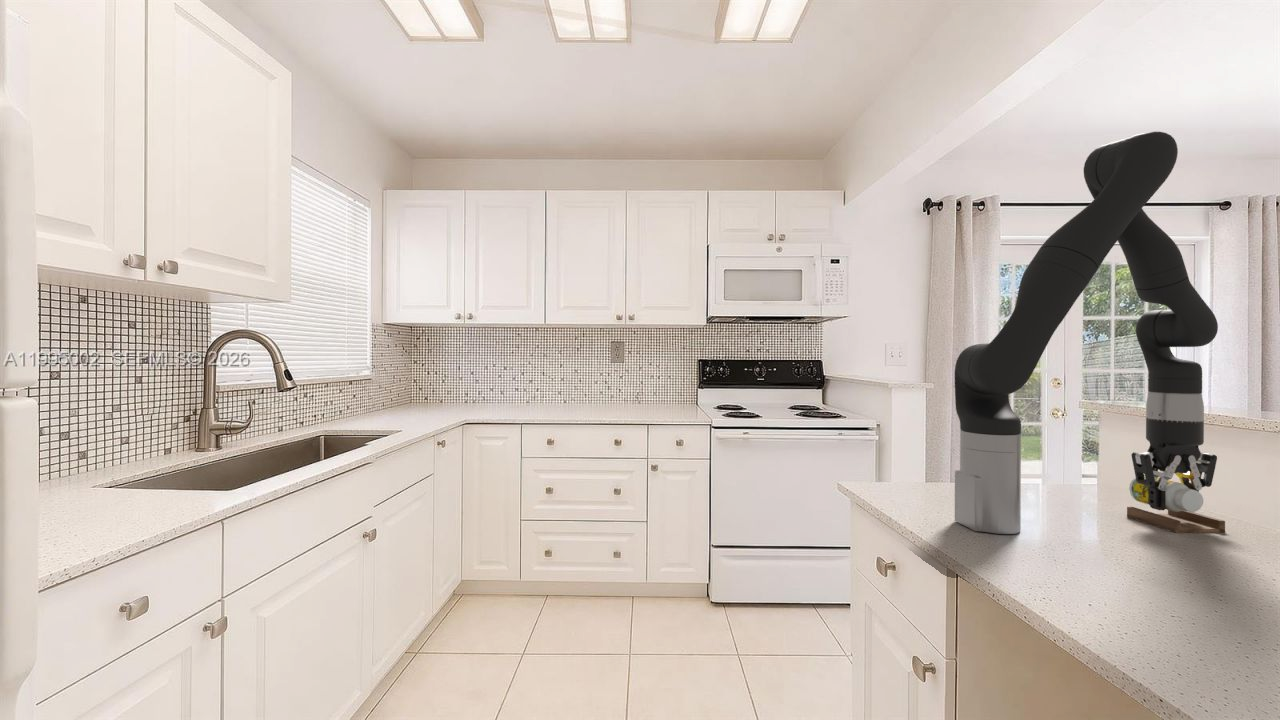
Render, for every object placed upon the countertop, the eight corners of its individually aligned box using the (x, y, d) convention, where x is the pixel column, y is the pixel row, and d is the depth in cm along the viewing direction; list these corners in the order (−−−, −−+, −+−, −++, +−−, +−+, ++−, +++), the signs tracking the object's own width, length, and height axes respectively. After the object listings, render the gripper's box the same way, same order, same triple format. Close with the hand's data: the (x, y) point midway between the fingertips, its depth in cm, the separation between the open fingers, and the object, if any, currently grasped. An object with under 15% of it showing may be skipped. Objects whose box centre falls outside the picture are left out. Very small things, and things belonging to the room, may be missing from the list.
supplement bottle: (1148, 505, 104) (1200, 521, 95) (1123, 495, 104) (1173, 510, 94) (1158, 480, 104) (1212, 493, 95) (1133, 470, 104) (1184, 481, 94)
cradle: (1174, 532, 93) (1174, 521, 93) (1126, 517, 102) (1127, 506, 102) (1225, 532, 94) (1225, 520, 94) (1172, 516, 103) (1173, 506, 103)
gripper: (1155, 419, 94) (1154, 515, 94) (1235, 419, 94) (1234, 515, 94) (1117, 415, 101) (1116, 503, 102) (1191, 415, 102) (1190, 503, 102)
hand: (1173, 508), depth 98 cm, fingers closed on supplement bottle, 5 cm apart
